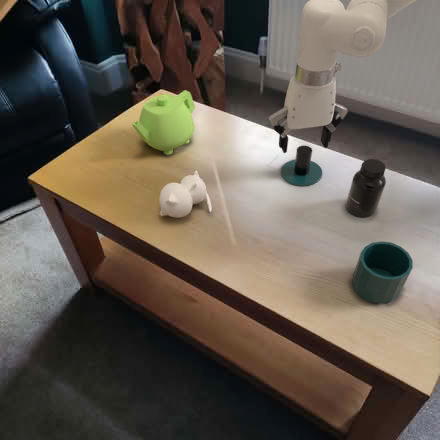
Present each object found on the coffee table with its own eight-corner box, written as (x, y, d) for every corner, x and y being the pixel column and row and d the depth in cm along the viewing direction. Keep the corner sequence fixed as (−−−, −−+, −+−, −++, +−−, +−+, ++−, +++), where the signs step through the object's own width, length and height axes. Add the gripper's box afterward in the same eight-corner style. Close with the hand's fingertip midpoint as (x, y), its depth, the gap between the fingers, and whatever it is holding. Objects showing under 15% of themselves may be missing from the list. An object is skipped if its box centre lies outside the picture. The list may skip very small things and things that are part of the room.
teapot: (157, 169, 109) (149, 124, 99) (123, 149, 115) (112, 105, 105) (211, 134, 118) (208, 89, 108) (177, 117, 123) (172, 73, 113)
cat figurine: (197, 159, 95) (157, 185, 90) (227, 197, 96) (189, 225, 91) (185, 178, 103) (147, 203, 98) (212, 213, 104) (177, 239, 98)
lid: (314, 160, 109) (318, 135, 103) (327, 185, 103) (332, 159, 97) (276, 165, 108) (278, 140, 103) (286, 190, 102) (289, 165, 97)
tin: (389, 263, 88) (400, 238, 82) (408, 299, 82) (421, 275, 76) (345, 270, 87) (353, 245, 81) (362, 307, 81) (371, 282, 76)
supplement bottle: (342, 215, 96) (353, 171, 87) (348, 196, 100) (359, 152, 91) (373, 223, 95) (388, 178, 85) (378, 203, 98) (393, 158, 89)
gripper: (349, 59, 89) (334, 133, 102) (268, 68, 87) (263, 142, 101) (363, 76, 84) (345, 152, 98) (276, 86, 83) (271, 161, 97)
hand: (303, 146), depth 99 cm, fingers open, 9 cm apart
